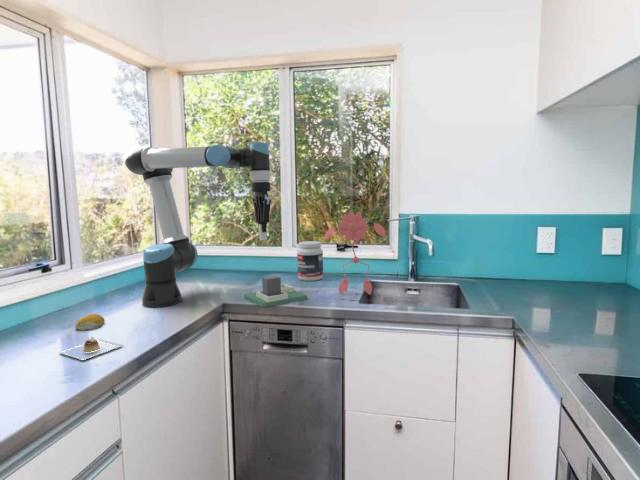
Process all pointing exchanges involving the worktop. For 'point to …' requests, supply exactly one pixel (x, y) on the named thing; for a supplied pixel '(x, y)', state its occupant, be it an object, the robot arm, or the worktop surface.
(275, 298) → the board
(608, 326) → the worktop surface
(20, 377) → the worktop surface
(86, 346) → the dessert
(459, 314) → the worktop surface
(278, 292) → the plug
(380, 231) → the pink flower sprig
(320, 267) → the supplement tub
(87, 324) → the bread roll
